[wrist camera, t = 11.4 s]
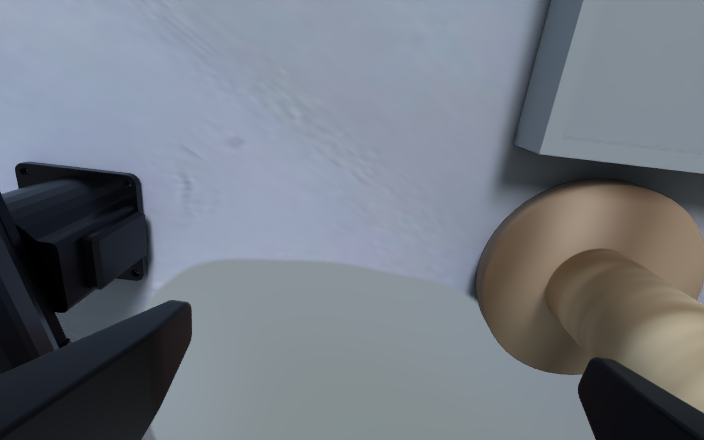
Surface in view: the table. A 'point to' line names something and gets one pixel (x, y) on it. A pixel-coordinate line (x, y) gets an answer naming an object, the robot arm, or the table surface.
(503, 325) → the tan wooden disc
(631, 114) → the grey tray
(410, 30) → the table surface
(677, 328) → the oak canister
